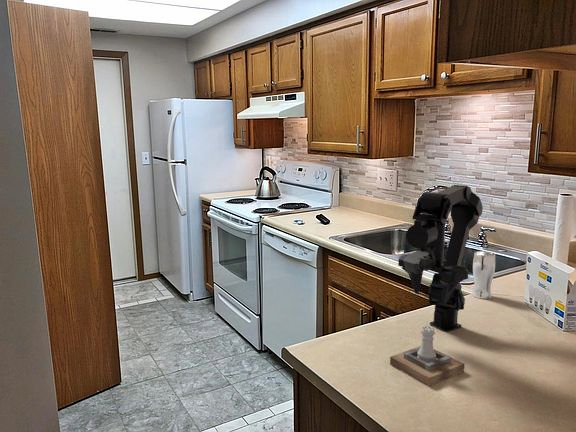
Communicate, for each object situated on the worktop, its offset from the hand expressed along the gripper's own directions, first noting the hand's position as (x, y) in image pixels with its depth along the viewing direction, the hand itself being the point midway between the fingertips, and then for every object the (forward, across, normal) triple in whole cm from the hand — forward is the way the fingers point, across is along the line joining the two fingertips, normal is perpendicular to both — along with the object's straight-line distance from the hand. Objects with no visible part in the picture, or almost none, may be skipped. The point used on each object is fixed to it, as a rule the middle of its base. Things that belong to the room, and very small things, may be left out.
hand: (430, 298), depth 125 cm
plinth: (+12, +10, -12) cm, 20 cm away
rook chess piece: (+10, +10, -12) cm, 19 cm away
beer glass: (+12, -14, +43) cm, 47 cm away
